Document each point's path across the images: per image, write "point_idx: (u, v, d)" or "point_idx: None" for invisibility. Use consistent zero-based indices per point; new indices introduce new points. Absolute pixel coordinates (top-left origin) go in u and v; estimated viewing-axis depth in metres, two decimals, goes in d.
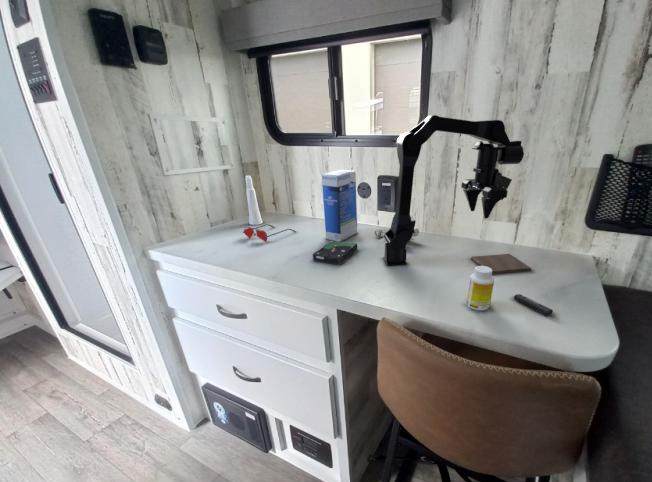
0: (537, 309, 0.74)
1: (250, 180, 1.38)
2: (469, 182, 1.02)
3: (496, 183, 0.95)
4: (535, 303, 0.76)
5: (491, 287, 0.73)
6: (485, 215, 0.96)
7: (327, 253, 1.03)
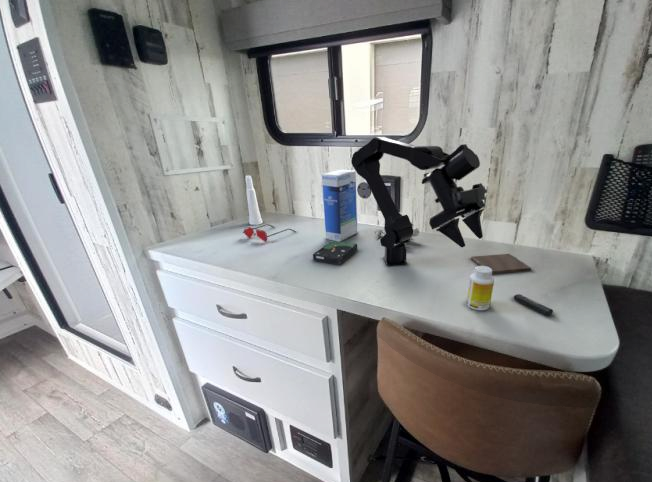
0: (537, 309, 0.74)
1: (250, 180, 1.38)
2: None
3: (456, 204, 0.77)
4: (535, 303, 0.76)
5: (491, 287, 0.73)
6: (458, 244, 0.78)
7: (327, 253, 1.03)
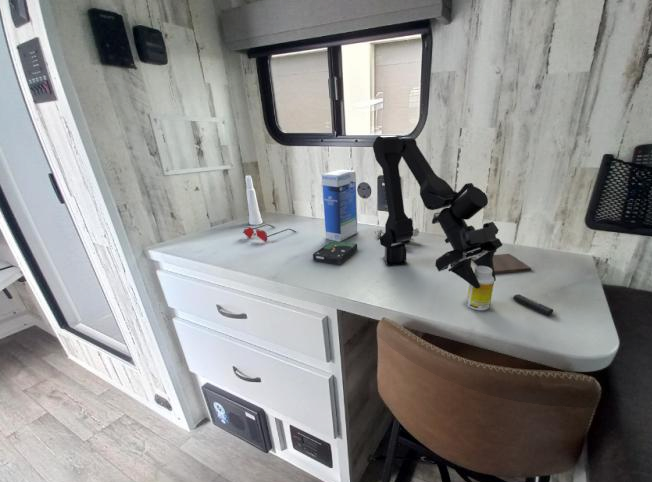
0: (538, 309, 0.74)
1: (250, 180, 1.38)
2: None
3: (464, 244, 0.73)
4: (535, 303, 0.76)
5: (491, 287, 0.73)
6: (473, 285, 0.73)
7: (327, 253, 1.03)
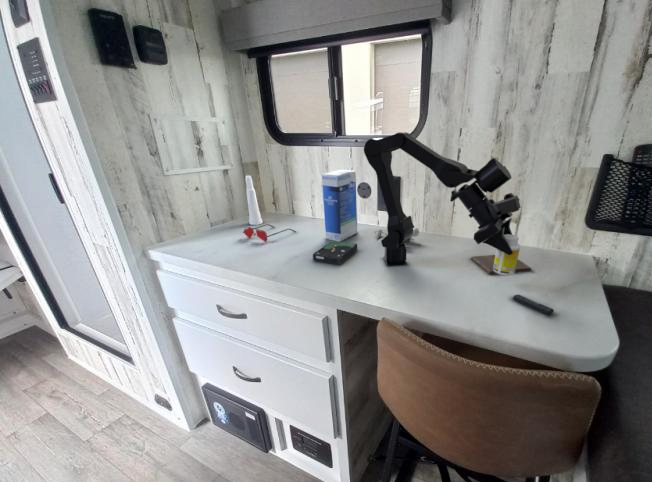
0: (538, 309, 0.74)
1: (250, 180, 1.38)
2: None
3: (495, 215, 0.78)
4: (535, 303, 0.76)
5: (518, 252, 0.81)
6: (506, 252, 0.79)
7: (327, 253, 1.03)
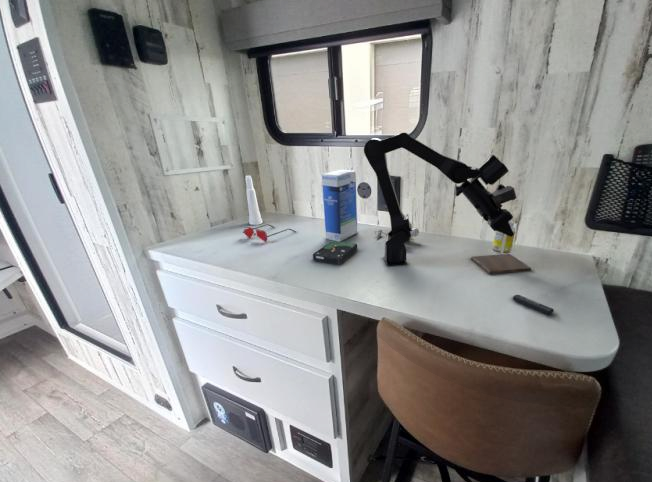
0: (538, 309, 0.74)
1: (250, 180, 1.38)
2: None
3: (499, 204, 0.89)
4: (535, 303, 0.76)
5: None
6: (509, 235, 0.92)
7: (327, 253, 1.03)
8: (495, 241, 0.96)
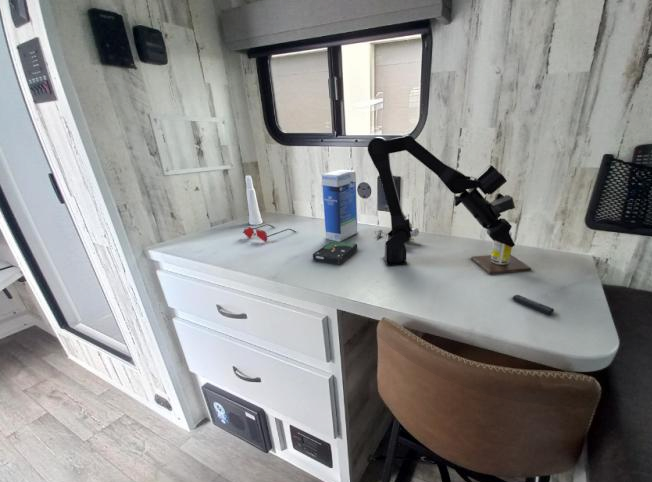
0: (539, 309, 0.74)
1: (250, 180, 1.38)
2: None
3: (498, 214, 0.90)
4: (535, 303, 0.76)
5: None
6: (509, 245, 0.92)
7: (327, 253, 1.03)
8: (493, 251, 0.98)
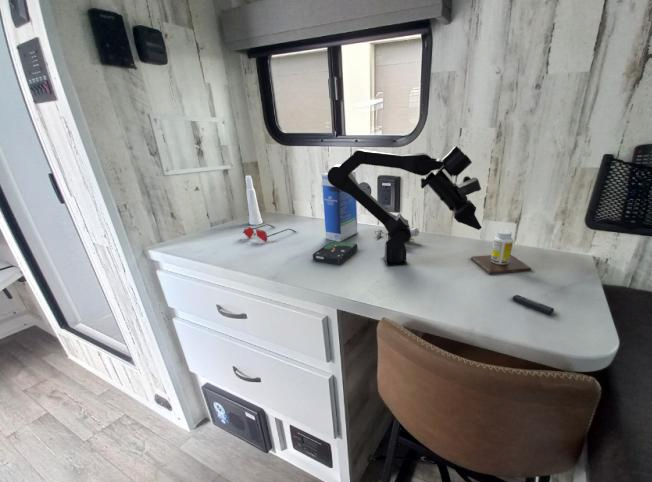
0: (539, 309, 0.74)
1: (250, 180, 1.38)
2: None
3: (464, 196, 0.90)
4: (536, 303, 0.76)
5: None
6: (476, 228, 0.91)
7: (327, 253, 1.03)
8: (493, 251, 0.98)
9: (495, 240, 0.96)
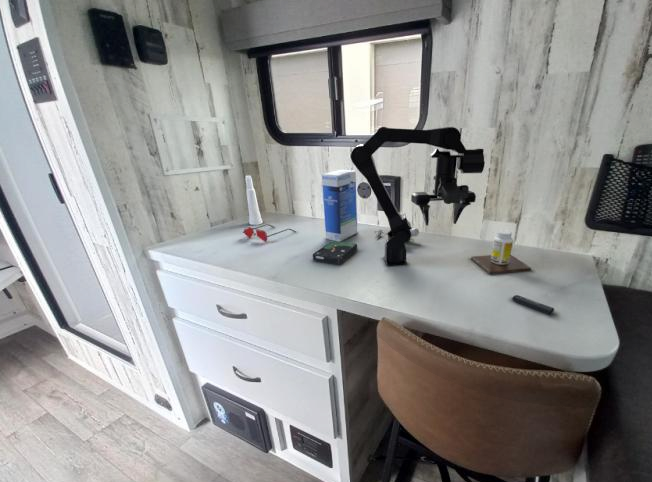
0: (539, 309, 0.74)
1: (250, 180, 1.38)
2: None
3: (437, 193, 0.90)
4: (536, 303, 0.76)
5: None
6: (425, 221, 0.97)
7: (327, 253, 1.03)
8: (493, 251, 0.98)
9: (495, 240, 0.96)
